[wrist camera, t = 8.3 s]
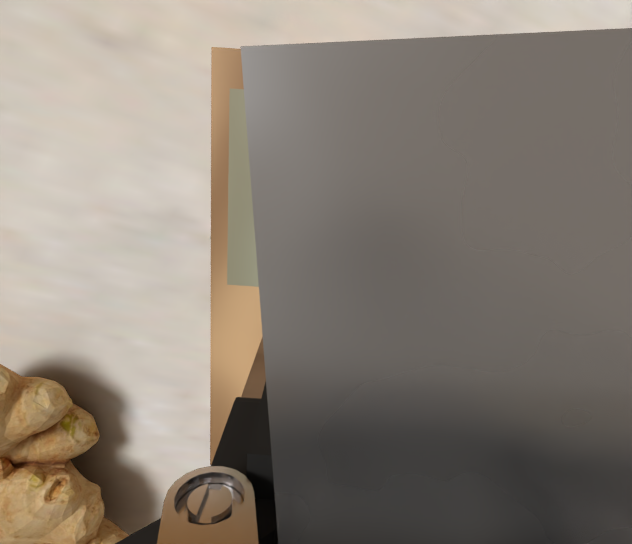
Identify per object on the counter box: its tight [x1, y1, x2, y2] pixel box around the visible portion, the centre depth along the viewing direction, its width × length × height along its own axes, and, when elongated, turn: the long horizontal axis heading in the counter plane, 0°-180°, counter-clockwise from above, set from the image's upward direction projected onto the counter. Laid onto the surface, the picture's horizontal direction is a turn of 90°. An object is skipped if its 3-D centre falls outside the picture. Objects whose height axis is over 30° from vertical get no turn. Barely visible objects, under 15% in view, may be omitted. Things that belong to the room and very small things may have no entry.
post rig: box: [210, 47, 266, 465], centre depth 17 cm, size 14×20×10 cm
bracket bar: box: [241, 28, 632, 544], centre depth 8 cm, size 4×14×6 cm, turn 2°
